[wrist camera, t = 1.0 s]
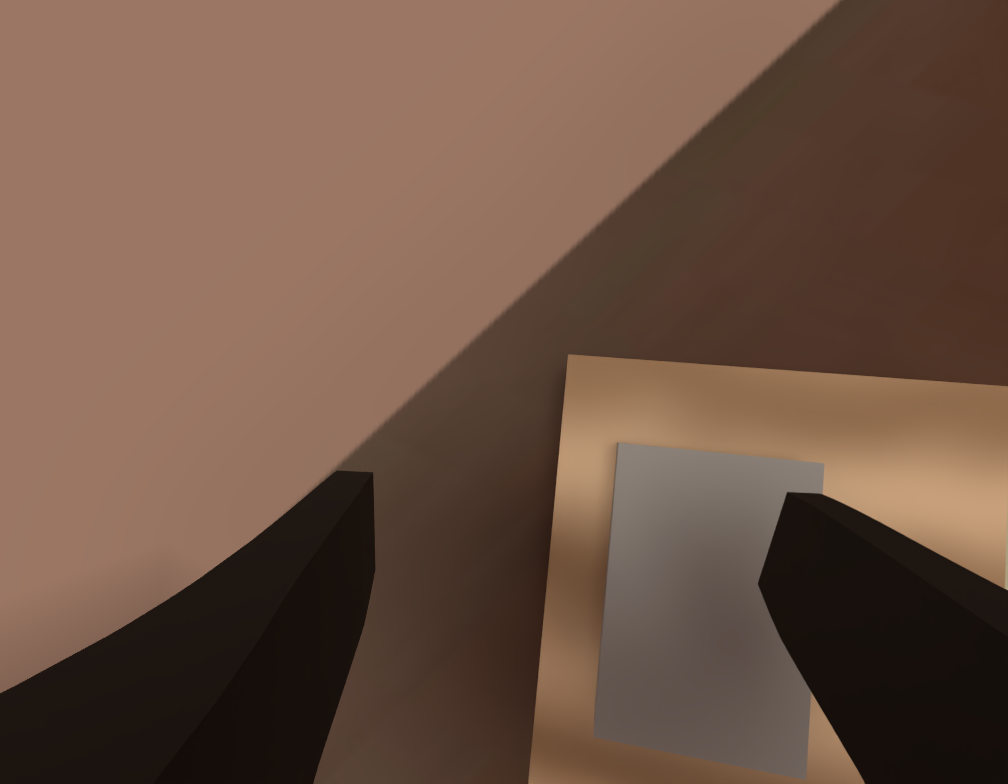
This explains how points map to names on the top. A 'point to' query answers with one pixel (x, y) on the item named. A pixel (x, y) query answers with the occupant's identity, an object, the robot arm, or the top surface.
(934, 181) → the top surface
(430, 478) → the top surface
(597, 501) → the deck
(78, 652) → the robot arm
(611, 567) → the grey rectangular block
